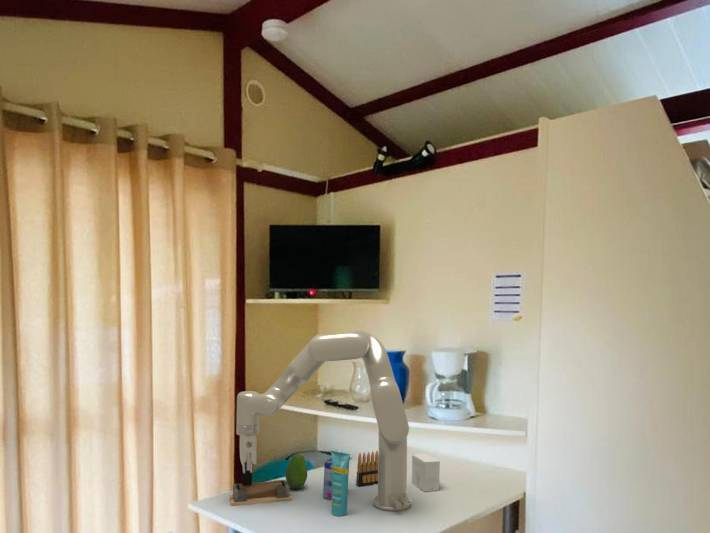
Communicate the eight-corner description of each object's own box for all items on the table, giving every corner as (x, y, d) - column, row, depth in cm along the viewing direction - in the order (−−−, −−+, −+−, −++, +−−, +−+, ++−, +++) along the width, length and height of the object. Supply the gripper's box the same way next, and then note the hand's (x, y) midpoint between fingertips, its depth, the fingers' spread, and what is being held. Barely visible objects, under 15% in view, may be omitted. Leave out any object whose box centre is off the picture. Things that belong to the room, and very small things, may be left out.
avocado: (311, 488, 194) (312, 454, 194) (293, 493, 189) (294, 458, 189) (298, 482, 200) (299, 449, 200) (280, 487, 194) (281, 453, 195)
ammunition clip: (381, 481, 202) (381, 449, 203) (384, 483, 201) (384, 450, 201) (355, 485, 198) (356, 452, 198) (358, 487, 196) (358, 453, 197)
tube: (325, 513, 172) (326, 451, 173) (333, 508, 176) (334, 448, 177) (346, 518, 168) (347, 455, 169) (353, 513, 172) (354, 451, 173)
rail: (291, 500, 183) (292, 486, 183) (231, 505, 177) (231, 491, 177) (288, 492, 189) (288, 479, 190) (229, 498, 183) (230, 484, 184)
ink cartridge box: (337, 501, 182) (338, 457, 183) (322, 498, 184) (323, 455, 185) (348, 491, 192) (348, 449, 193) (333, 489, 194) (334, 447, 194)
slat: (281, 496, 183) (282, 483, 184) (239, 499, 179) (240, 487, 180) (280, 492, 187) (280, 480, 187) (238, 496, 183) (239, 483, 183)
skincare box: (440, 490, 194) (440, 460, 195) (424, 492, 192) (424, 462, 192) (426, 481, 204) (426, 452, 204) (411, 482, 202) (411, 454, 202)
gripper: (261, 433, 177) (260, 490, 176) (256, 423, 191) (255, 476, 190) (238, 434, 175) (237, 493, 174) (234, 424, 189) (233, 478, 188)
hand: (246, 484), depth 182 cm, fingers closed
